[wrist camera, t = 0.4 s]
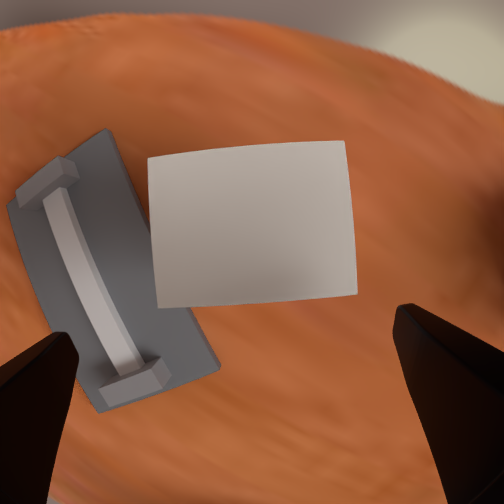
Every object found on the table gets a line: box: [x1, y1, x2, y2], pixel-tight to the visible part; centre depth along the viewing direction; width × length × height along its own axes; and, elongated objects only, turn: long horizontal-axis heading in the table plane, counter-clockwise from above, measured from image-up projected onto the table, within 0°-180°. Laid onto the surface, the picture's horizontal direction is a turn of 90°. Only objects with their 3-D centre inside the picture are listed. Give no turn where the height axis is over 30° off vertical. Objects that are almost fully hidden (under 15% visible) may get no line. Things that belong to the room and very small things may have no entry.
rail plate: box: [6, 128, 221, 414], centre depth 21 cm, size 20×12×3 cm, turn 26°
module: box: [148, 141, 357, 308], centre depth 16 cm, size 6×6×12 cm
